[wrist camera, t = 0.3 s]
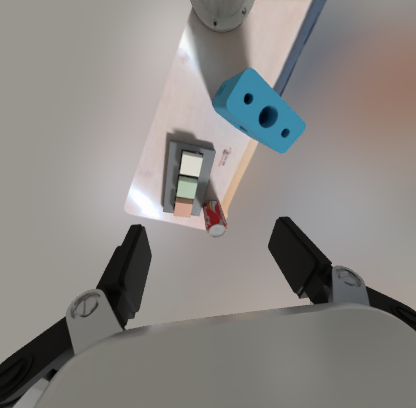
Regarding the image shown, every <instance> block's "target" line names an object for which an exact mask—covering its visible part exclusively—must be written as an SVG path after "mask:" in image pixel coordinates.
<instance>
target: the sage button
mask: <svg viewBox="0 0 416 408" xmlns="http://www.w3.org/2000/svg"><path fill="white" fill-rule="evenodd" d="M196 188H197V179H194V178H188V177H183V176H179V182H178V189H177V197H184V198H191V199H194V197H195V192H196Z"/></svg>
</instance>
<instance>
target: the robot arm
mask: <svg viewBox="0 0 416 408" xmlns="http://www.w3.org/2000/svg"><path fill="white" fill-rule="evenodd" d="M190 1H191V3H192V6H193V8H194V11H195V12H196V14H197V16H198V17H199V19H200V20H201V21H202V22H203V24H205V25H206V26H207V27H208V28H210V29H212V30H214V31H217V32H227V31H230V30H233V29H234V28H236V27H237V26H239V25H240V24H241V22H242V21H243V20H244V19H245V18H246V16H247V15H248V13H249V11H250V10H251V8H252V6H253V3H254V1H255V0H190ZM242 12H244V15H243V14H242ZM214 23H216V26H214ZM268 248H269V251H270V252H271V254H272V256H273V257H274V259H275V261H276V263H277V264H278V266H279V268H280V269H281V271H282V273H283V275H284V276H285V278H286V280H287V282H288V283H289V285H290V287H291V288H292V290H293V292H294V293H296V294H297V295H298V297H299V298H300V299H301V298H307V297H308V298H309V299H310V305H303V306H295V307H287V308H278V309H271V310H262V311H254V312H246V313H238V314H230V315H222V316H214V317H207V318H199V319H191V320H184V321H176V322H169V323H162V324H156V325H149V326H143V327H138V328H133V329H128V330H126V329H125V327H124V326H125V325H127V321H128V319H133V318H134V317H135V313H136V312H138V311H139V309H140V304H141V300H142V295H143V291H144V287H145V283H146V279H147V275H148V270H149V266H150V262H151V257H152V255H151V250H150V246H149V242H148V238H147V234H146V230H145V227H144V226H143V227H142V225H141V224H138V225H131V226H130V229H129V231H128V233H127V235H126V237H125V239H124V241H123V243H122V245H121V246H118V247H117V248H116V249H115V251H114V253H113V255H112V257H111V259H110V262H109V264H108V265H107V267H106V269H105V271H104V273H103V275H102V277H101V279H100V281H99V283H98V285H97V287H96V289H92V290H88V291H86V292H84V293H82V294H81V295H79V296H78V297H77V298H76V299H75V300H74V301H73V302H72V303H71V304H70V306H69V307H68V309H67V312H66V316H65V317H64V318H62V319H61V320H60V321H58V322H57V323H56V324H54V325H53V326H52V327H50V328H49V329H47V330H46V331H44V332H43V333H42V334H40V335H39V336H37V337H36V338H35V339H33V340H32V341H31V342H29V343H28V344H27V345H25V346H24V347H22V348H21V349H20V350H18V351H17V352H15V353H14V354H12V355H11V356H10V357H8V358H7V359H6V360H5V361H4V362H2V363H1V364H0V408H416V311H414V310H413V309H411V308H410V307H408V306H407V305H405V304H403V303H401V302H399V301H396V300H394V299H392V298H390V297H388V296H386V295H384V294H382V293H380V292H377V291H375V290H373V289H371V288H369V287H367V286H365V283H364V281H363V279H362V278H361V277H360V276H359V275H358V274H357V273H355V272H354V271H352V270H351V269H349V268H347V267H343V266H334V267H332V266H331V264H332V262H331V261H330V260H329V259H328V258H327V257H326V256H325V255H324V254H323V253H322V252H321V251H320V250H319V249H318V248H317V247H316V245H315V244H314V243H313V242H312V241H311V240H310V239H309V238H308V237H307V236H306V235H305V234H304V233H303V232H302V230H300V228H299V227H298V226H297V225H296V224H295V223H294V222H293V221H292V220H291V219H290V218H289V217H279V219H277V220H276V223H275V226H274V229H273V232H272V235H271V238H270V241H269V244H268Z"/></svg>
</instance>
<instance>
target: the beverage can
mask: <svg viewBox="0 0 416 408" xmlns="http://www.w3.org/2000/svg"><path fill="white" fill-rule="evenodd" d="M203 212H204V219H205V226H206V230H207V232H208V233H209V234H210V236H212V237H221V236H223V235H224V234H225V232H226V229H227V223H226V221H225V217H224V214H223V211H222V208H221V205H220V204H219V203H218V202H216V201H209V202H207V203H206V204H205V205H204V207H203Z"/></svg>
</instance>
